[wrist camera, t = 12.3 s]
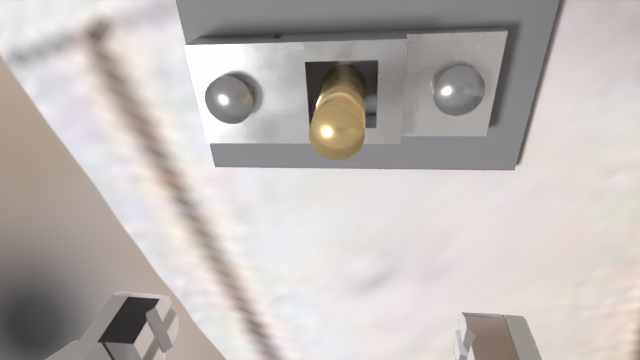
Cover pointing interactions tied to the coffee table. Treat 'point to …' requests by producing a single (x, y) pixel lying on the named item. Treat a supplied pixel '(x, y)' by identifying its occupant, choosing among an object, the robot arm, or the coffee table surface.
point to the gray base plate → (376, 15)
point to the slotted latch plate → (384, 46)
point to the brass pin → (340, 114)
